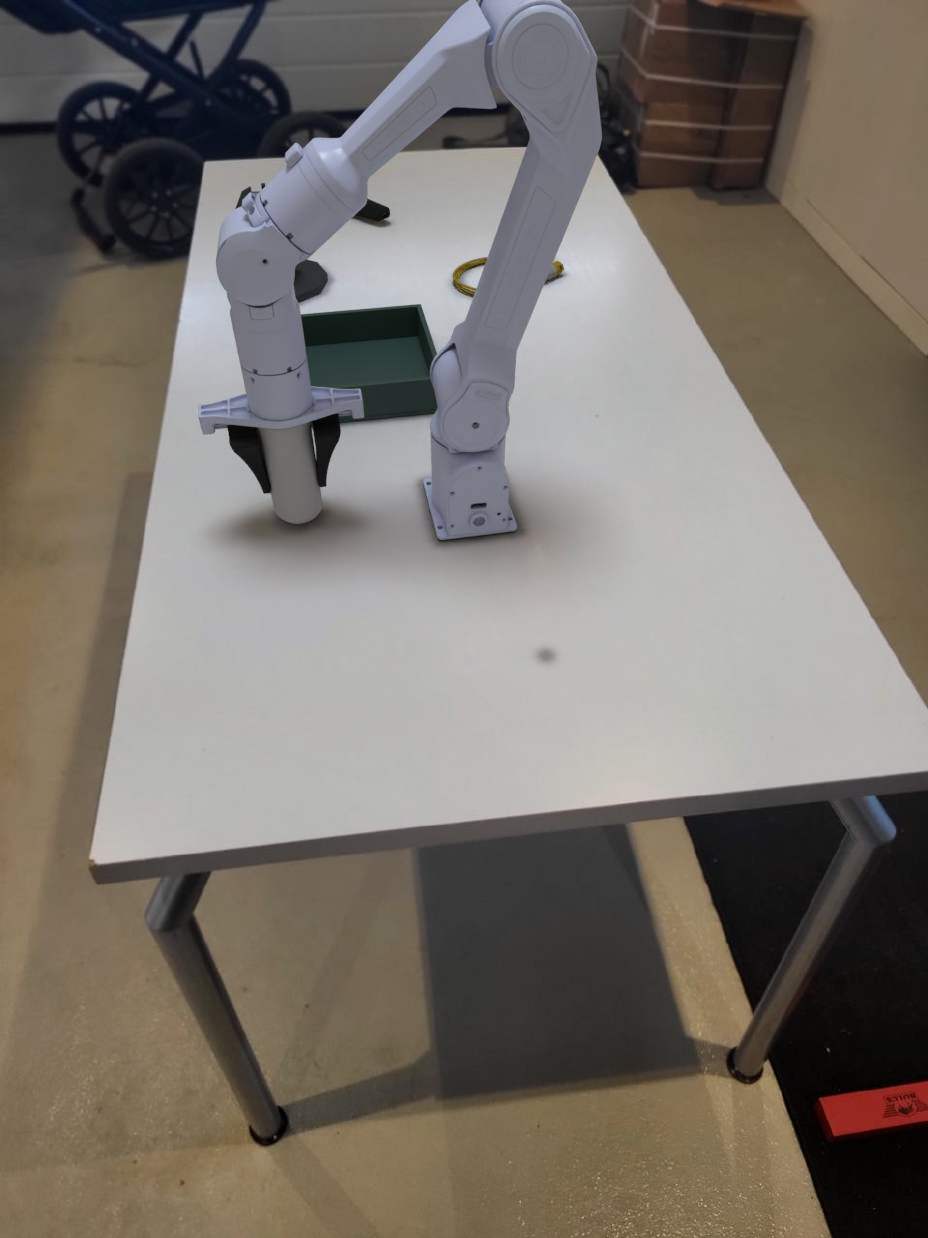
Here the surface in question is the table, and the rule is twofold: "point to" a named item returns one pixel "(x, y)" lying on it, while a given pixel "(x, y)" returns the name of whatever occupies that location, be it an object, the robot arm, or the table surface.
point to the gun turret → (300, 268)
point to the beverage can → (292, 472)
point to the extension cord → (554, 271)
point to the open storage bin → (374, 358)
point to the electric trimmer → (374, 211)
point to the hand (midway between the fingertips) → (295, 483)
